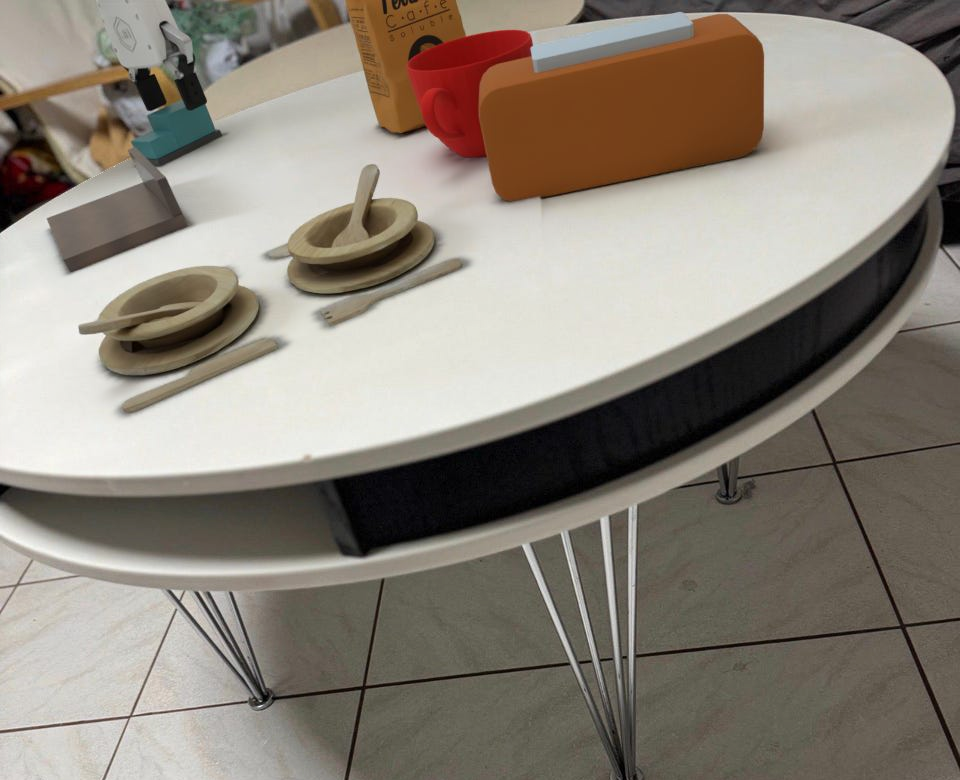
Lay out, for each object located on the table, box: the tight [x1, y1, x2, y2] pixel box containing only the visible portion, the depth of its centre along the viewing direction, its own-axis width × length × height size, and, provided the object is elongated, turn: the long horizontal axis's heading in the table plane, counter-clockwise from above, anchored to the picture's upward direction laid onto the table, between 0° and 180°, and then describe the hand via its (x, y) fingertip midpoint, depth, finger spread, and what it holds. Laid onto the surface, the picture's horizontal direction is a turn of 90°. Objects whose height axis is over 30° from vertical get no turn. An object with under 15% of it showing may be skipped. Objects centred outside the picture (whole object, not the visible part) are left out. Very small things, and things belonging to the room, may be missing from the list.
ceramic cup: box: [407, 29, 534, 159], centre depth 84 cm, size 13×17×10 cm
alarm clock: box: [479, 11, 765, 202], centre depth 73 cm, size 24×8×11 cm, turn 89°
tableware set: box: [77, 163, 463, 414], centre depth 68 cm, size 30×20×6 cm, turn 118°
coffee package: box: [345, 0, 467, 134], centre depth 95 cm, size 10×12×22 cm
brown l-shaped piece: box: [46, 147, 189, 273], centre depth 92 cm, size 13×18×6 cm
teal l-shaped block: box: [130, 99, 223, 167], centre depth 114 cm, size 11×5×6 cm, turn 143°
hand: (177, 107), depth 113 cm, fingers open, 9 cm apart
